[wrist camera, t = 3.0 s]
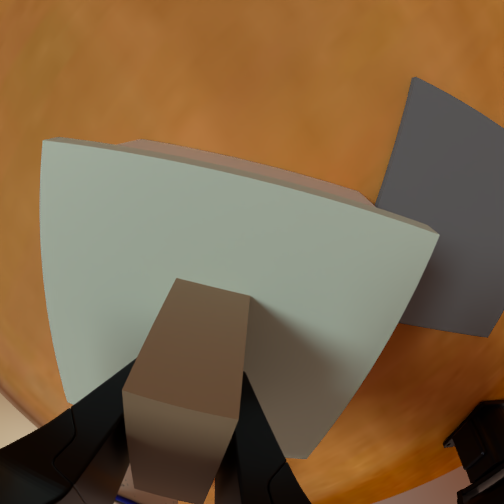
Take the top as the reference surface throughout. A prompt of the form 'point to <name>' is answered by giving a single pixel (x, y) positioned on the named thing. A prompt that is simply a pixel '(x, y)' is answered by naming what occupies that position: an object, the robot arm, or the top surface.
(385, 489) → the top surface
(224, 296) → the lid
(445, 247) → the mat
